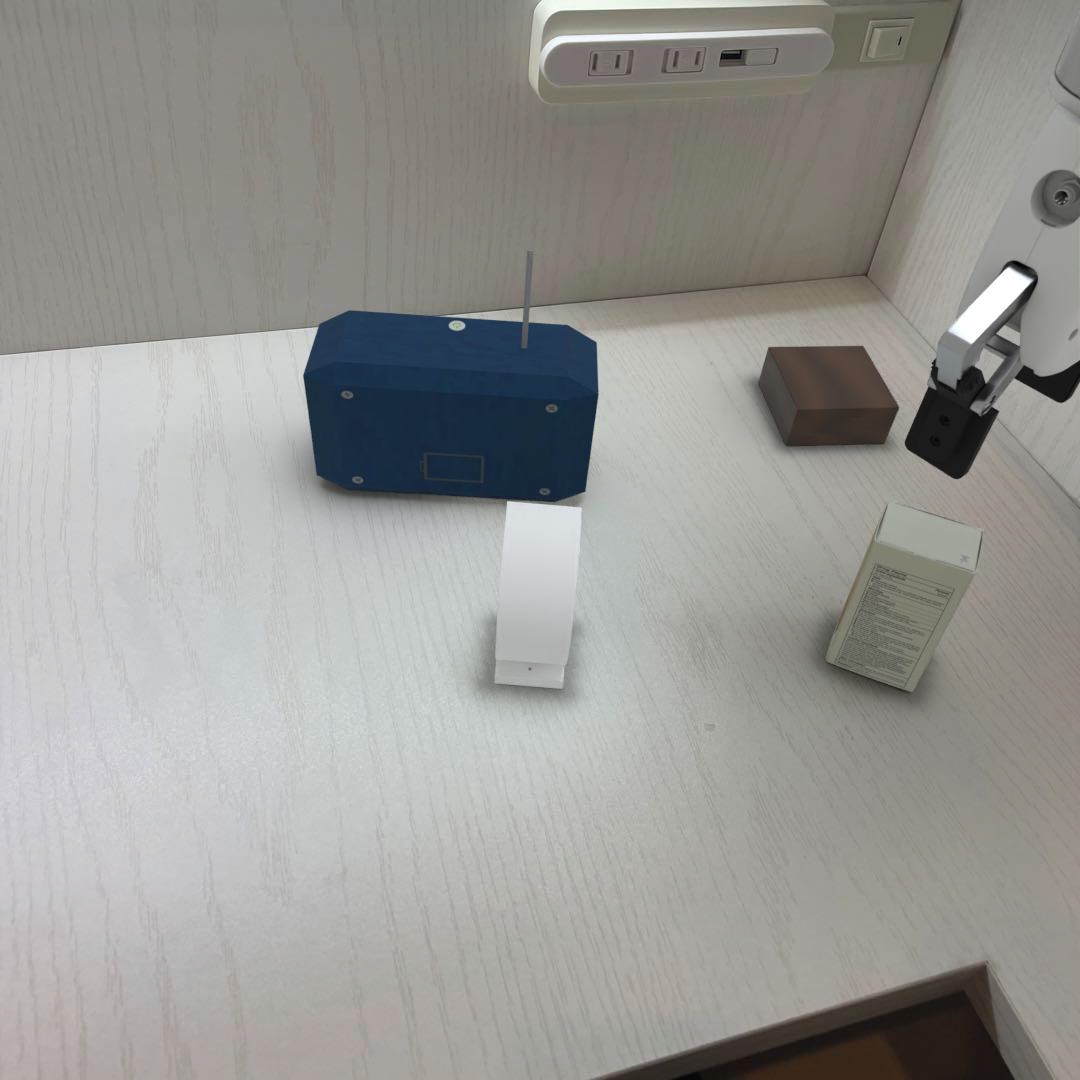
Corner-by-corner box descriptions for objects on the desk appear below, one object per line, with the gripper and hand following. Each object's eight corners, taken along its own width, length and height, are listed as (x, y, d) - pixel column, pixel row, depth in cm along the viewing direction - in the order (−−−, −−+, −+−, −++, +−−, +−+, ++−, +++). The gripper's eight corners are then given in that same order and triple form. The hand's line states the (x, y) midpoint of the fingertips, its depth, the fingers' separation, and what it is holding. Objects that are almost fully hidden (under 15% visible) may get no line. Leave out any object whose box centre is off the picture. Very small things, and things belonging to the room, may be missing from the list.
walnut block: (850, 381, 91) (863, 345, 88) (884, 443, 85) (900, 407, 82) (758, 382, 90) (768, 346, 87) (785, 446, 83) (797, 409, 81)
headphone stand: (565, 630, 68) (582, 507, 59) (562, 702, 64) (579, 581, 55) (499, 624, 68) (507, 500, 59) (492, 696, 64) (498, 574, 55)
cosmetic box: (922, 650, 69) (991, 529, 60) (912, 696, 66) (982, 575, 57) (833, 617, 70) (887, 495, 61) (819, 660, 67) (874, 538, 59)
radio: (582, 440, 82) (610, 221, 68) (583, 512, 76) (614, 288, 62) (335, 424, 82) (310, 200, 67) (316, 496, 75) (284, 266, 61)
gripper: (1162, 162, 30) (957, 541, 43) (1356, 56, 39) (1139, 398, 51) (954, 80, 34) (822, 450, 46) (1173, 0, 42) (1011, 331, 55)
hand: (988, 423), depth 49 cm, fingers open, 9 cm apart
